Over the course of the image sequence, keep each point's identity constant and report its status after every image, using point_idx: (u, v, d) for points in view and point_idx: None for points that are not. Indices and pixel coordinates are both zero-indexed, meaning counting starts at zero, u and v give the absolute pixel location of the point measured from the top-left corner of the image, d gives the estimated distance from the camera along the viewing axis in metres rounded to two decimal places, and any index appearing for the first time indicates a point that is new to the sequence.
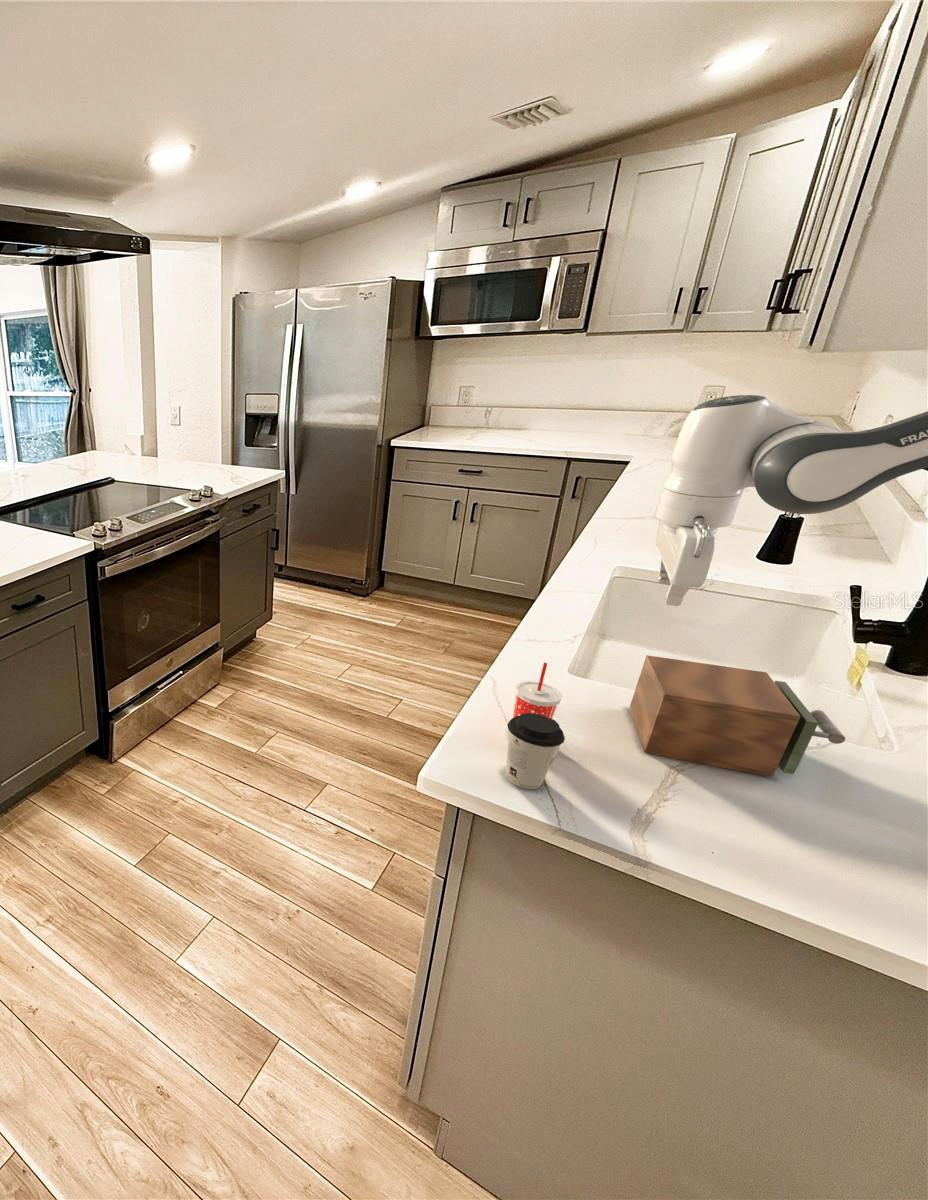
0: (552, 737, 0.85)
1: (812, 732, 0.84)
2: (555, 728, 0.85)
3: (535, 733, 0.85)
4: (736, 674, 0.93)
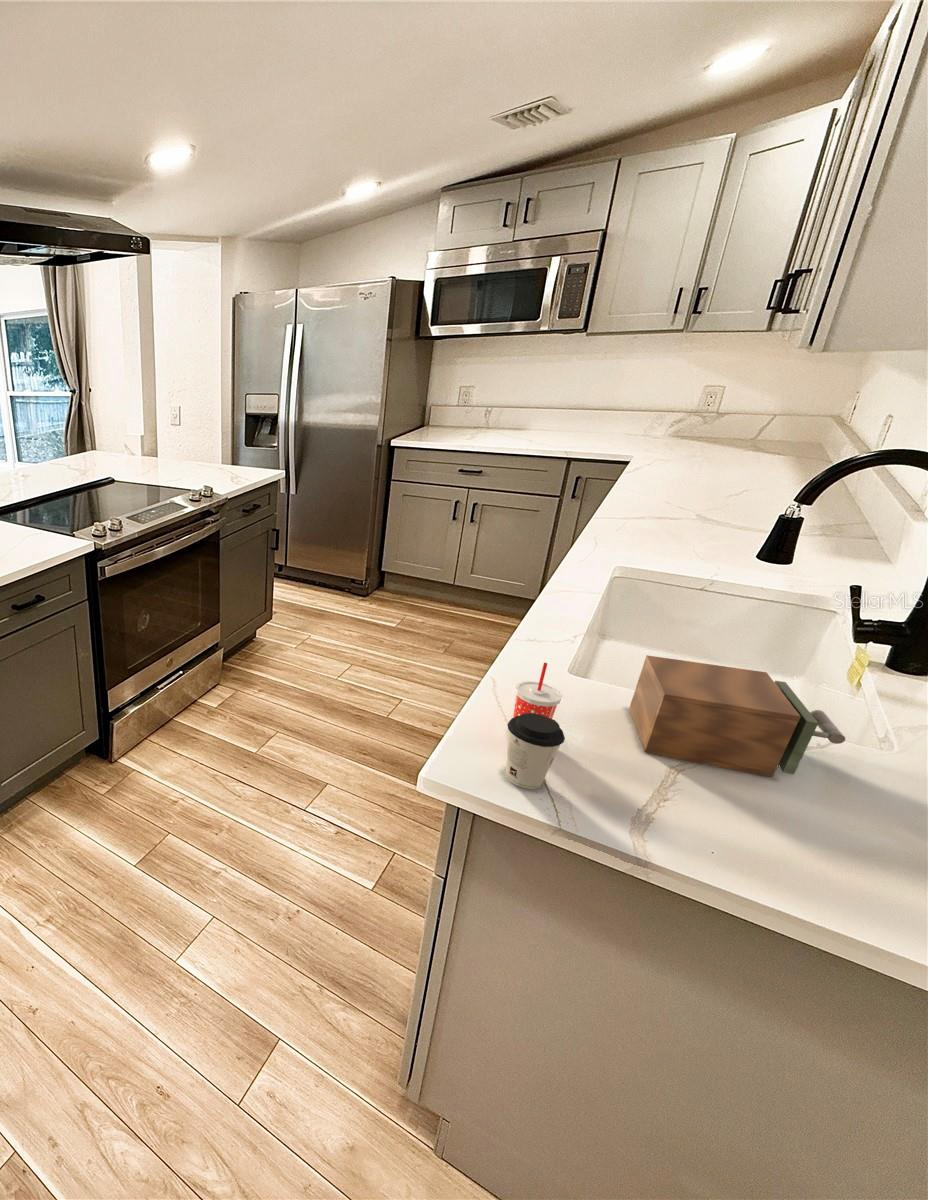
0: (552, 737, 0.85)
1: (812, 732, 0.84)
2: (556, 728, 0.85)
3: (535, 733, 0.85)
4: (736, 674, 0.93)
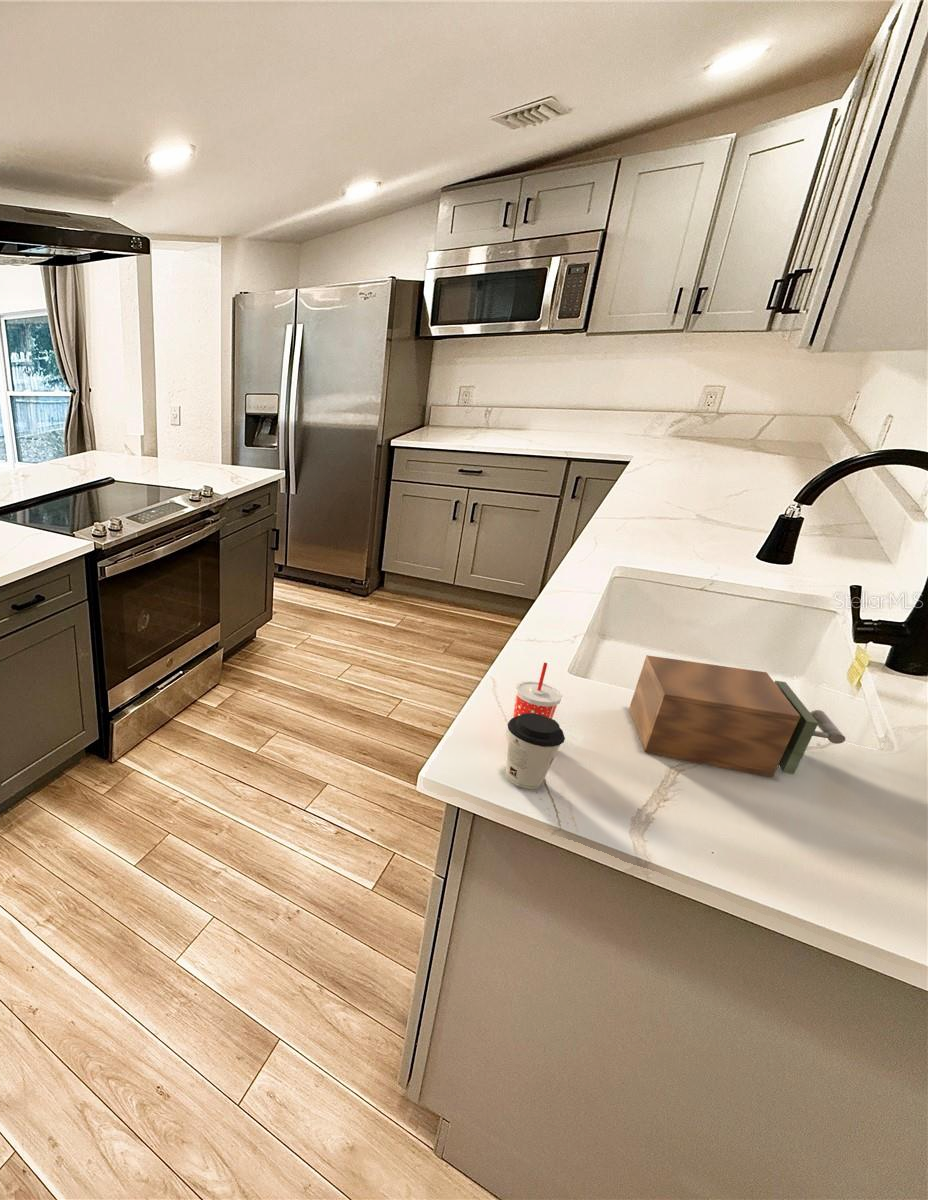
0: (552, 737, 0.85)
1: (812, 732, 0.84)
2: (556, 728, 0.85)
3: (535, 733, 0.85)
4: (736, 674, 0.93)
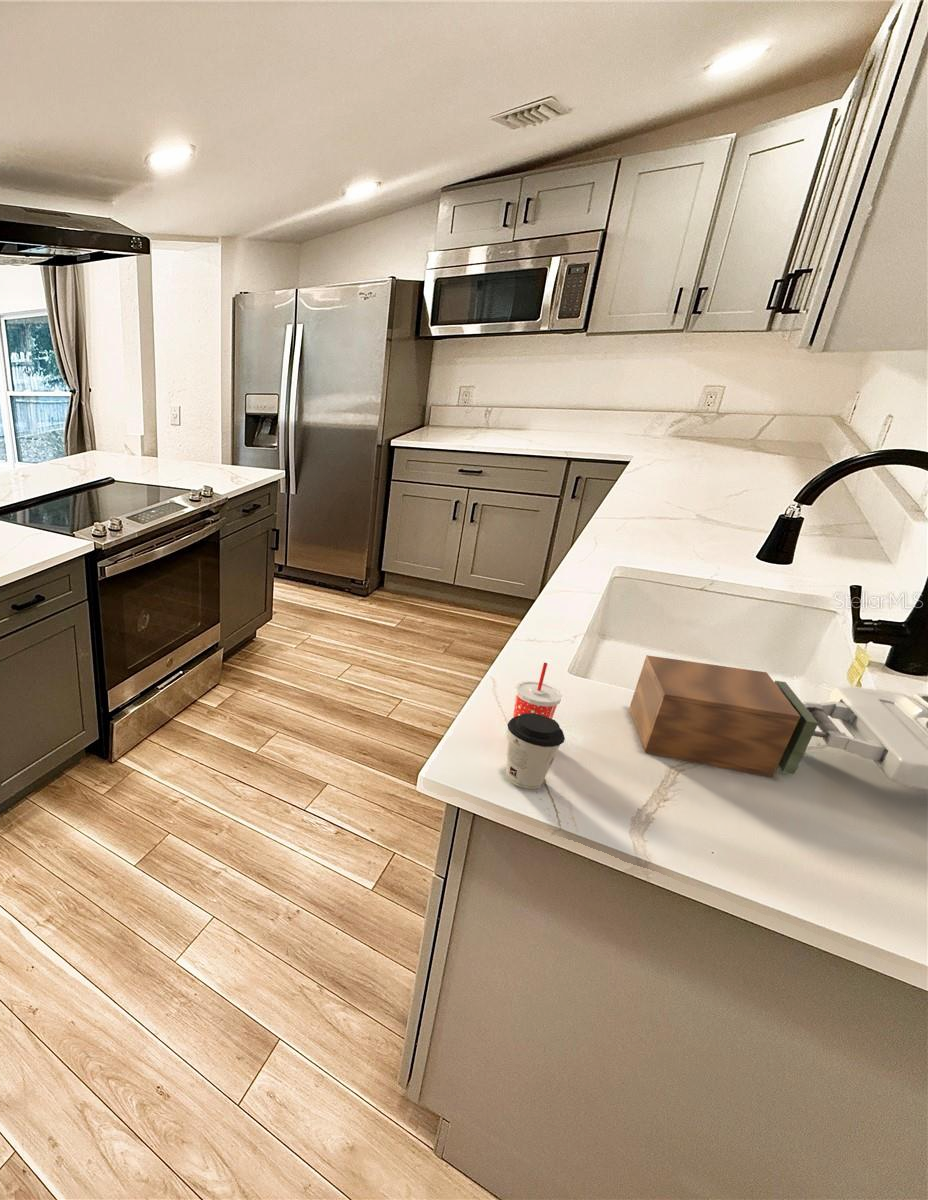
0: (552, 737, 0.85)
1: (812, 732, 0.84)
2: (555, 728, 0.85)
3: (535, 733, 0.85)
4: (736, 674, 0.93)
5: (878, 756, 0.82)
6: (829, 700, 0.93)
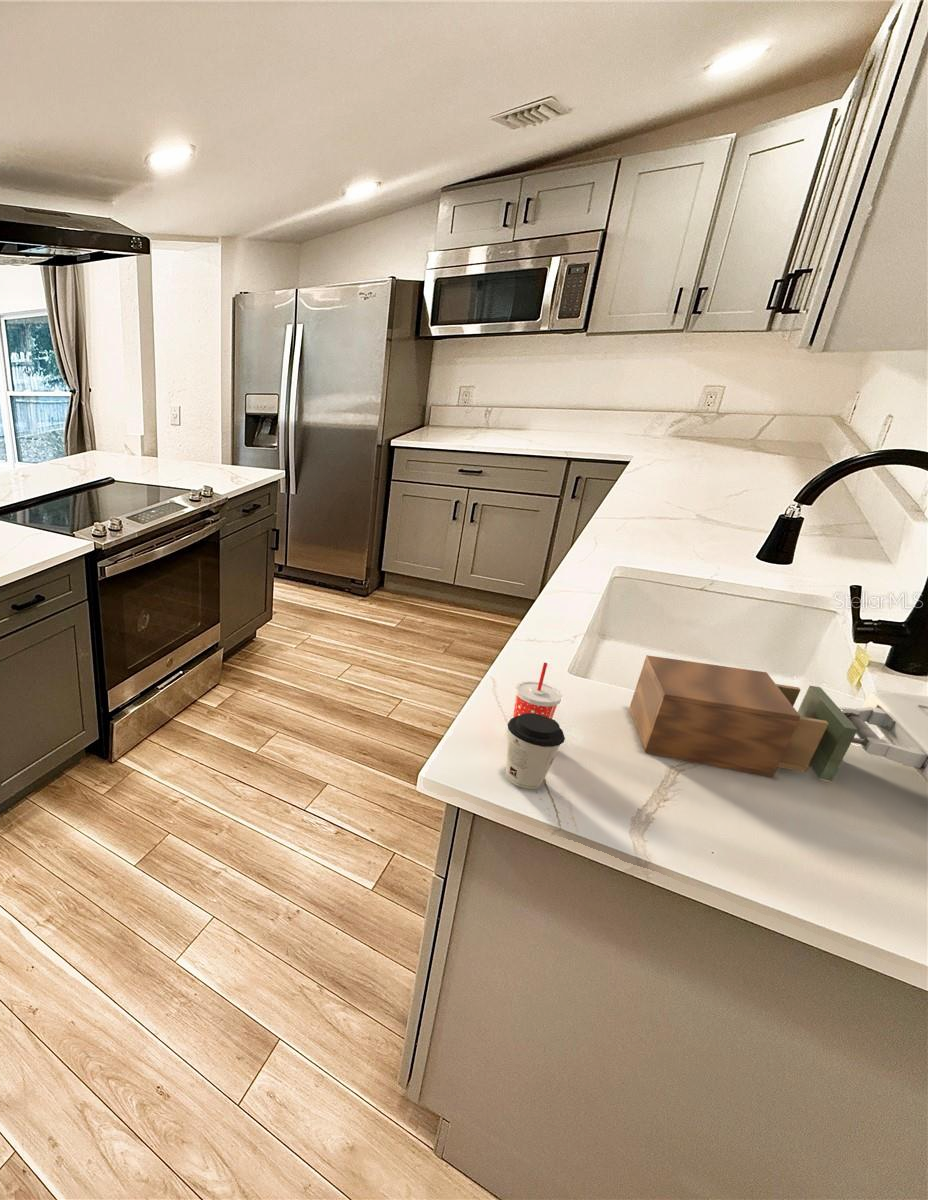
0: (552, 737, 0.85)
1: (851, 739, 0.82)
2: (556, 728, 0.85)
3: (535, 733, 0.85)
4: (736, 674, 0.93)
5: (920, 763, 0.80)
6: (865, 705, 0.91)
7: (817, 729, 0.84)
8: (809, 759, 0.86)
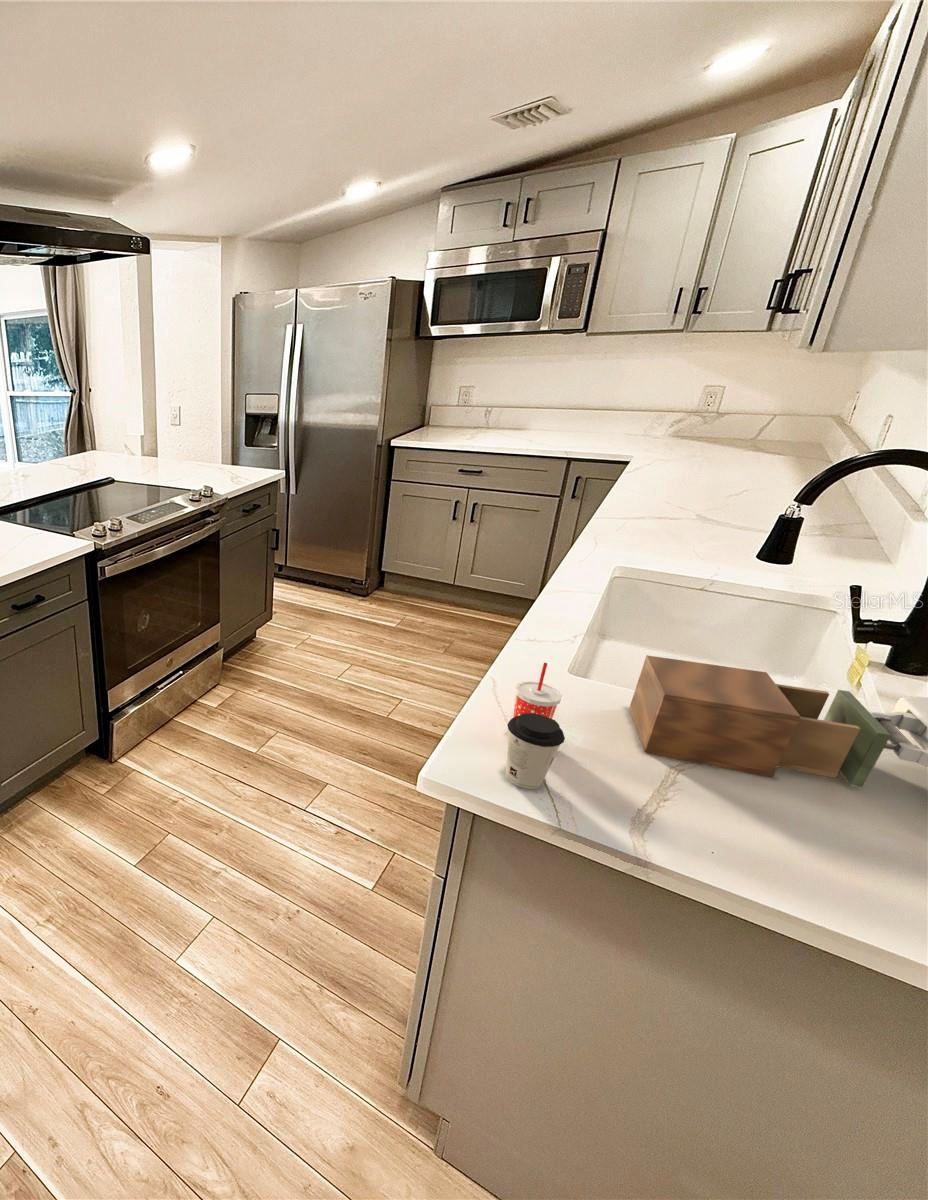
0: (552, 737, 0.85)
1: (883, 744, 0.81)
2: (556, 728, 0.85)
3: (535, 733, 0.85)
4: (736, 674, 0.93)
5: None
6: (894, 710, 0.90)
7: (848, 735, 0.83)
8: (840, 765, 0.84)
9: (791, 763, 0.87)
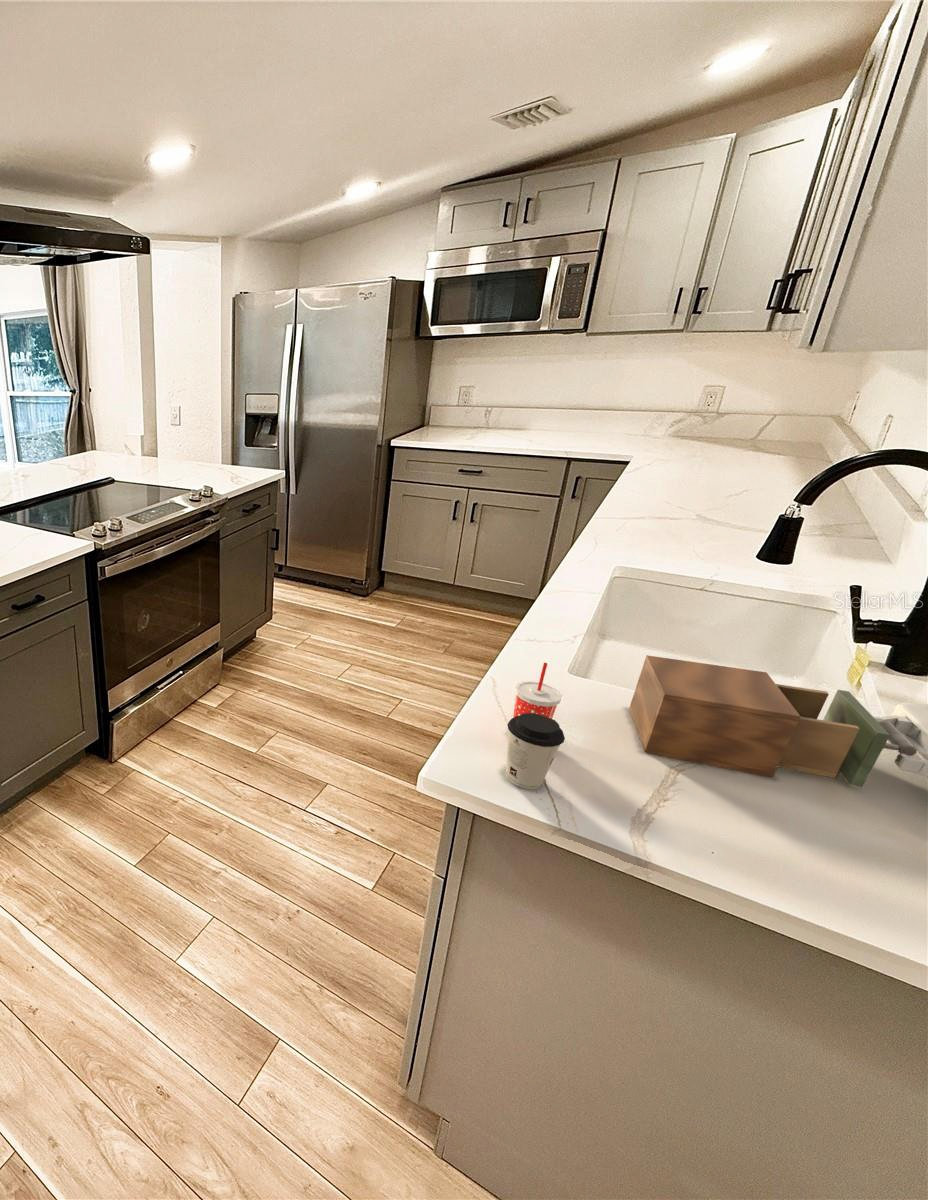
0: (552, 737, 0.85)
1: (883, 744, 0.81)
2: (556, 728, 0.85)
3: (535, 733, 0.85)
4: (736, 674, 0.93)
5: None
6: None
7: (847, 735, 0.83)
8: (839, 765, 0.84)
9: (790, 763, 0.87)
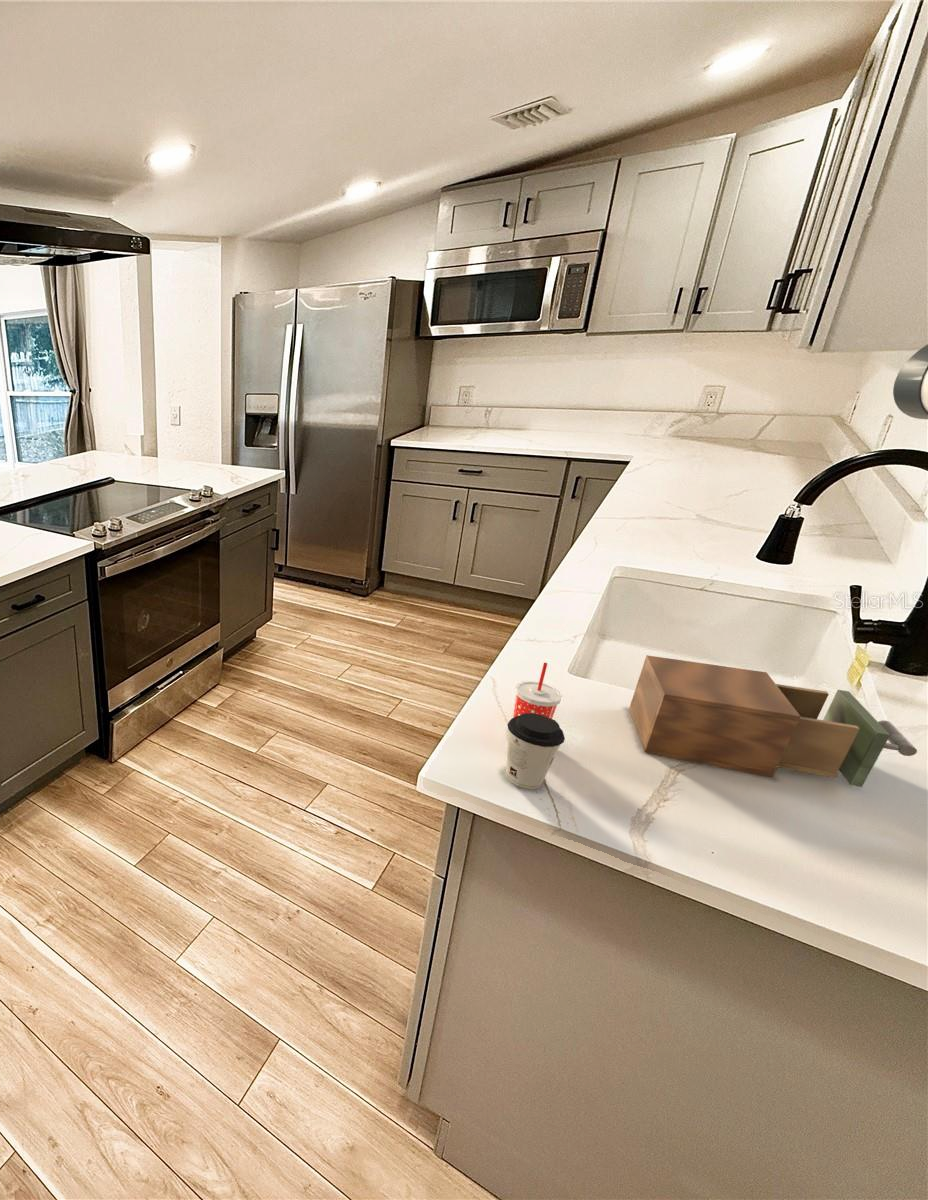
0: (552, 737, 0.85)
1: (883, 744, 0.81)
2: (556, 728, 0.85)
3: (535, 733, 0.85)
4: (736, 674, 0.93)
5: None
6: None
7: (847, 735, 0.83)
8: (839, 765, 0.84)
9: (790, 763, 0.87)
